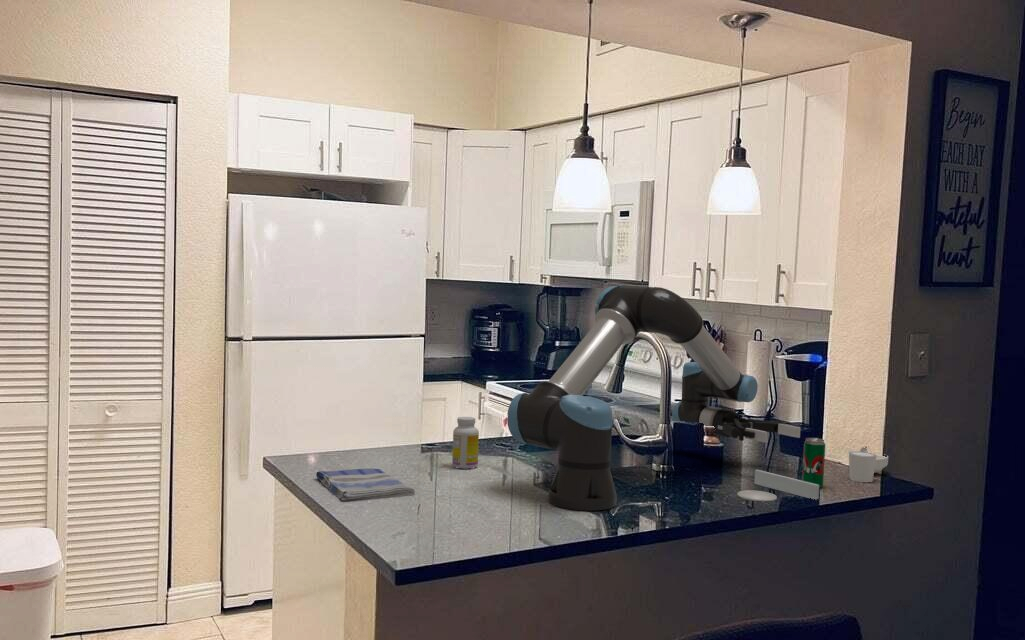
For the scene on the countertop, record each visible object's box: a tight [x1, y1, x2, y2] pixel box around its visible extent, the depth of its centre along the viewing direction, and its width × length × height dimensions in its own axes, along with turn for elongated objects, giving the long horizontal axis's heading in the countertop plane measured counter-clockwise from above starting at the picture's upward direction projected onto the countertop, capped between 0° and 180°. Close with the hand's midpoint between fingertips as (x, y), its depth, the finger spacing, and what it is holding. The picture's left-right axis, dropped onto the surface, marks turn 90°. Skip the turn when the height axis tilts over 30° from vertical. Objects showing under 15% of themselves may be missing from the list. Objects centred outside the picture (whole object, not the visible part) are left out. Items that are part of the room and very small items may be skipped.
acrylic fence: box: [753, 469, 820, 501], centre depth 214 cm, size 18×1×4 cm, turn 36°
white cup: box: [848, 451, 877, 483], centre depth 230 cm, size 7×7×7 cm
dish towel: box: [315, 468, 416, 502], centre depth 204 cm, size 17×24×3 cm
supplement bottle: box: [451, 416, 480, 469], centre depth 228 cm, size 7×7×13 cm
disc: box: [737, 489, 778, 503], centre depth 208 cm, size 9×9×1 cm
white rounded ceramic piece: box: [847, 446, 889, 474], centre depth 240 cm, size 10×12×7 cm
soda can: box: [801, 437, 826, 489], centre depth 220 cm, size 5×5×12 cm
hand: (783, 435), depth 228 cm, fingers open, 13 cm apart
